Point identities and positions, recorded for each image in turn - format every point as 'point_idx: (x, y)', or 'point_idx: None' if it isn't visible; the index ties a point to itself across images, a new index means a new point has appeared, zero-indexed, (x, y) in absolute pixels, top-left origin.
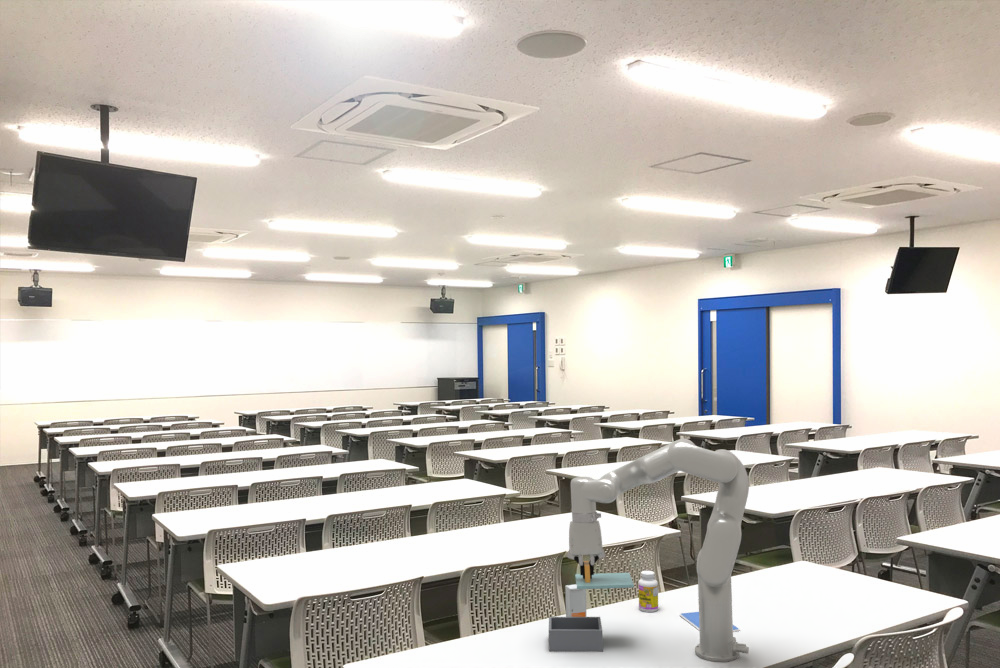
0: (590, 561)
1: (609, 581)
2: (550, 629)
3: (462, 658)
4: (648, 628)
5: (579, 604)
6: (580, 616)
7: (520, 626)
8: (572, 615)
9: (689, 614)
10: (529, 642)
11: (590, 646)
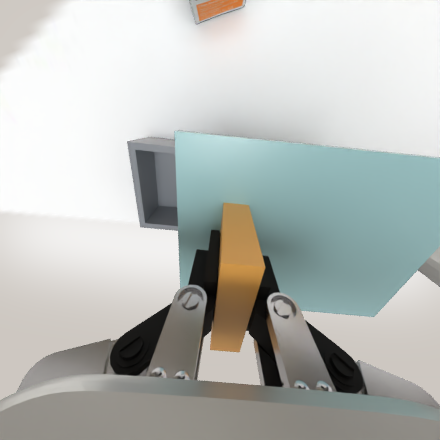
0: (256, 358)
1: (312, 278)
2: (143, 222)
3: (23, 209)
4: (386, 83)
5: None
6: (226, 2)
7: (55, 19)
8: (199, 8)
9: None
10: (111, 150)
11: None
